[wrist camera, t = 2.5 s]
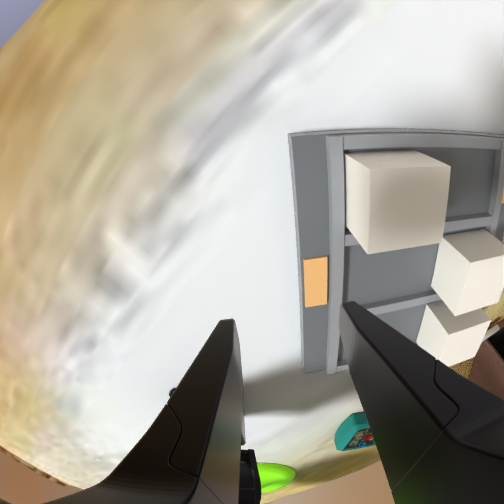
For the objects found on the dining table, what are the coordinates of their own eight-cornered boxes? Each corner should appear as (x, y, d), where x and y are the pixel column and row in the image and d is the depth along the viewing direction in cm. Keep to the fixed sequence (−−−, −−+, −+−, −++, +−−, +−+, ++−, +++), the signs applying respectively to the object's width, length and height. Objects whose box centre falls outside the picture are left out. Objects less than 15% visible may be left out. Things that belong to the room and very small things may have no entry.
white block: (416, 341, 26) (433, 371, 22) (426, 304, 23) (448, 334, 20) (456, 329, 25) (474, 356, 22) (468, 293, 23) (491, 319, 20)
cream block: (430, 286, 22) (454, 316, 19) (440, 235, 20) (470, 262, 17) (473, 275, 22) (498, 302, 19) (484, 228, 20) (514, 252, 17)
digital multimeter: (346, 411, 33) (351, 430, 31) (437, 395, 35) (444, 411, 32) (329, 437, 37) (333, 454, 34) (414, 423, 38) (420, 437, 36)
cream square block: (344, 223, 19) (367, 254, 16) (343, 152, 17) (370, 169, 14) (410, 215, 19) (441, 242, 16) (414, 150, 17) (450, 166, 14)
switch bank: (301, 363, 27) (305, 379, 26) (287, 133, 18) (293, 138, 16) (467, 323, 27) (475, 334, 25) (506, 135, 17) (521, 140, 16)
